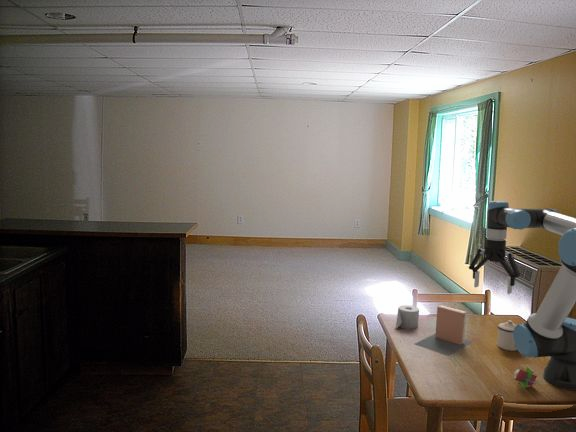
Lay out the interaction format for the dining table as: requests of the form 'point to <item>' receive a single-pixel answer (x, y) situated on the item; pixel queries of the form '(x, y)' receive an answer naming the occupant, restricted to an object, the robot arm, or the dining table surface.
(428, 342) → the mat
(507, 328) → the teacup with lid
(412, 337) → the dining table surface
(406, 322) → the toilet tissue
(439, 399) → the dining table surface
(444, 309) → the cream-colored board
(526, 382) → the geometric puzzle
